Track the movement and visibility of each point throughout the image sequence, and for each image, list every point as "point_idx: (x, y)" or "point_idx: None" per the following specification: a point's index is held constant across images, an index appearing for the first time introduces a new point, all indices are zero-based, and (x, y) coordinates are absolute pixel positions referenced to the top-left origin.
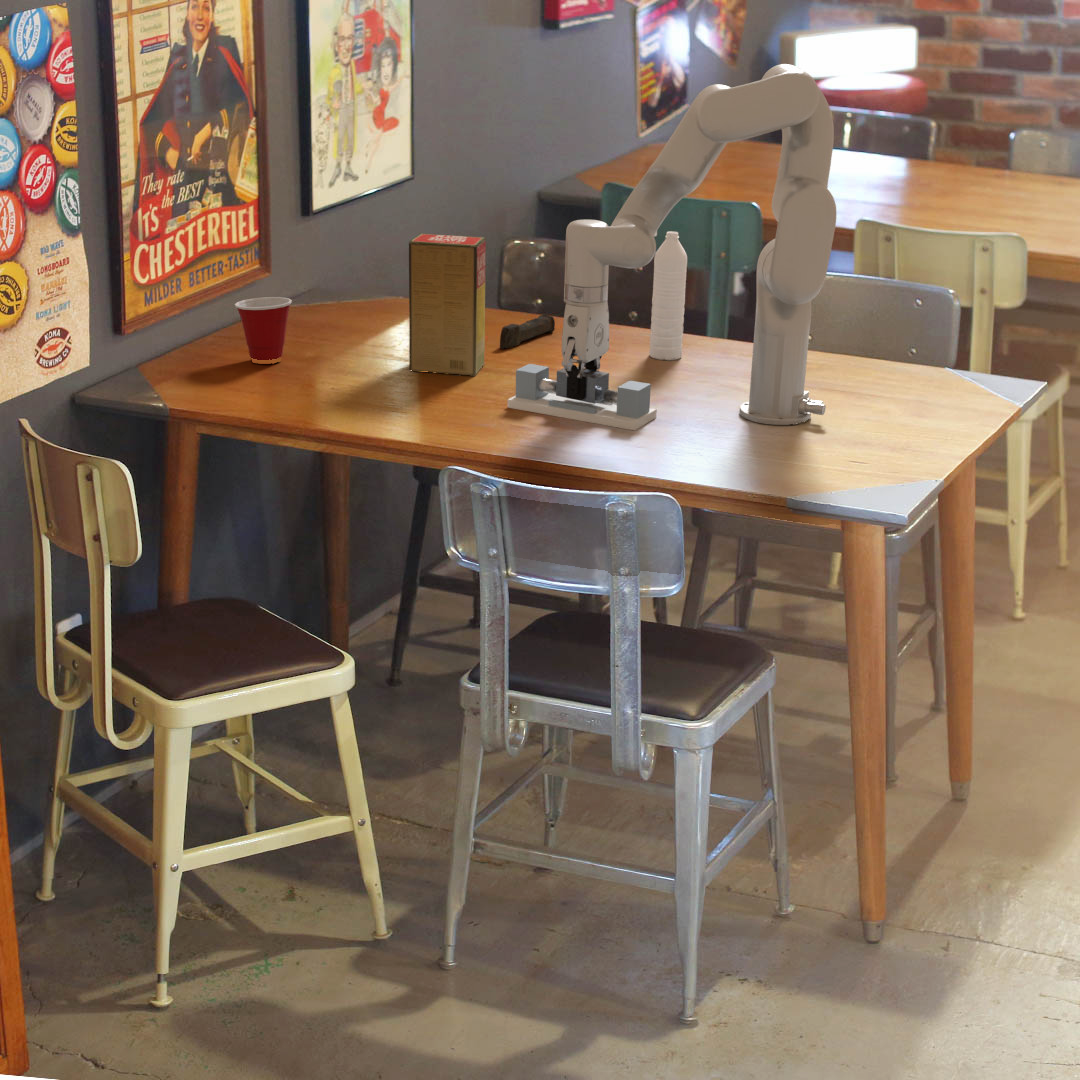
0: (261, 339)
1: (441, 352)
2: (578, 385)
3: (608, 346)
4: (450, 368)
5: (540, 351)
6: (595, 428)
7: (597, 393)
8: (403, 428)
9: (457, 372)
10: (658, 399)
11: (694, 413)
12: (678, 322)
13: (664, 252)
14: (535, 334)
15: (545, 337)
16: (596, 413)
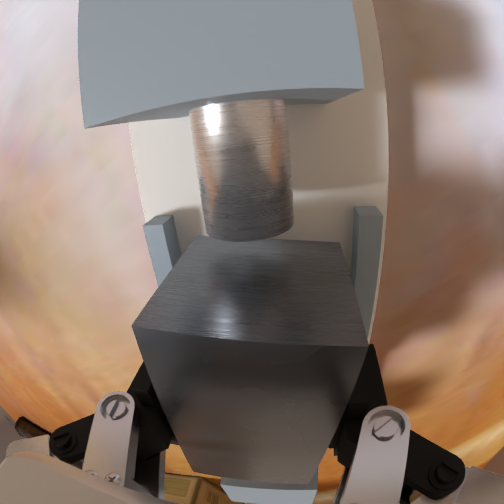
0: None
1: None
2: (367, 380)
3: (4, 474)
4: (218, 496)
5: (56, 426)
6: (431, 154)
7: (318, 266)
8: (493, 433)
9: (214, 489)
10: (9, 167)
11: (45, 5)
12: None
13: None
14: (41, 433)
15: (33, 421)
16: (362, 201)
